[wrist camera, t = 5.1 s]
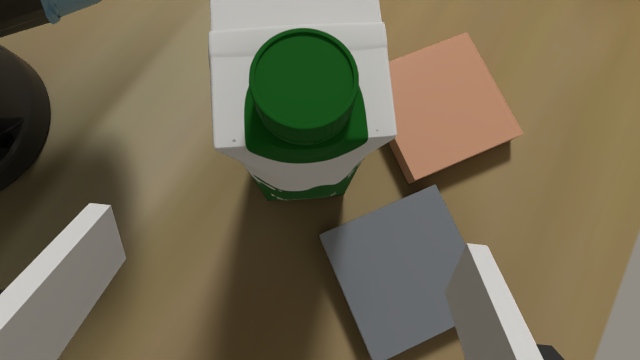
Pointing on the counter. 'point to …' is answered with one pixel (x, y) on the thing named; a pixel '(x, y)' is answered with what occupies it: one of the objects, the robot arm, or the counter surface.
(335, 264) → the slate tile
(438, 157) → the terracotta tile
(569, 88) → the counter surface
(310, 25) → the soya milk
